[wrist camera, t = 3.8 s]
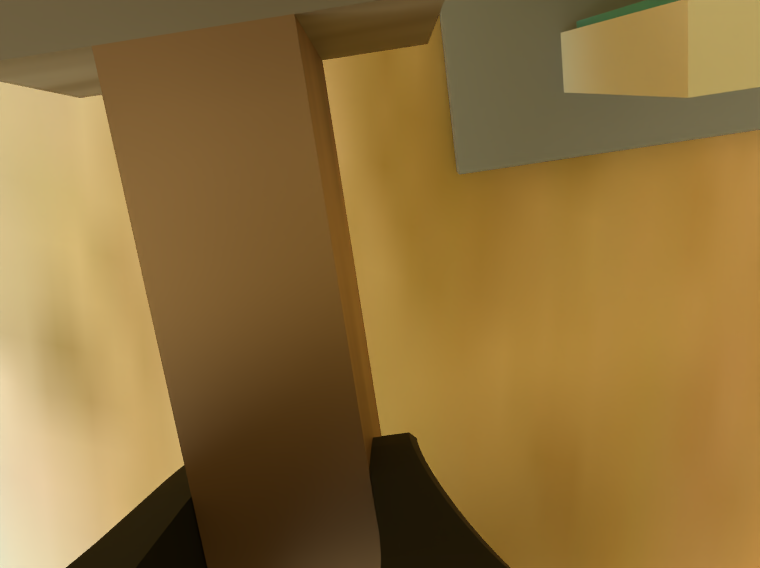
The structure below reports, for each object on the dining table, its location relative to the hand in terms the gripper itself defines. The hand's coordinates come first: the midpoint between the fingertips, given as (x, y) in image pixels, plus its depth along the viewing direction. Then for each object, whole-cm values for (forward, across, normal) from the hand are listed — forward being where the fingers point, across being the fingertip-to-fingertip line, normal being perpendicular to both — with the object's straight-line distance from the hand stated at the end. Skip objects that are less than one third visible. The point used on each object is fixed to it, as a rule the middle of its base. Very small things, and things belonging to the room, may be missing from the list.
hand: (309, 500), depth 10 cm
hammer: (+2, 0, -1) cm, 2 cm away
